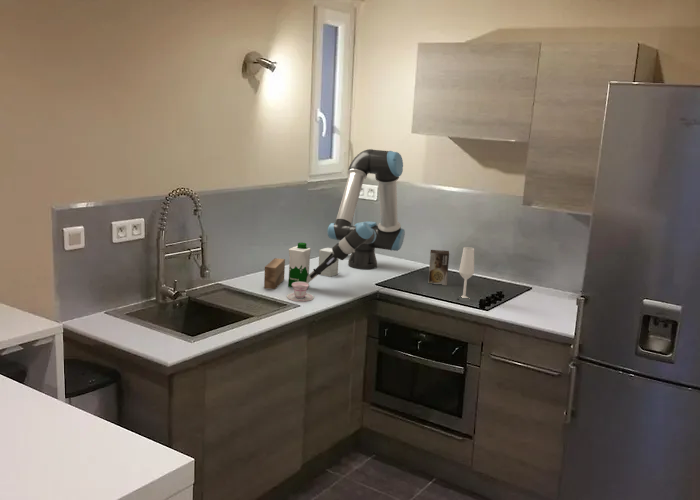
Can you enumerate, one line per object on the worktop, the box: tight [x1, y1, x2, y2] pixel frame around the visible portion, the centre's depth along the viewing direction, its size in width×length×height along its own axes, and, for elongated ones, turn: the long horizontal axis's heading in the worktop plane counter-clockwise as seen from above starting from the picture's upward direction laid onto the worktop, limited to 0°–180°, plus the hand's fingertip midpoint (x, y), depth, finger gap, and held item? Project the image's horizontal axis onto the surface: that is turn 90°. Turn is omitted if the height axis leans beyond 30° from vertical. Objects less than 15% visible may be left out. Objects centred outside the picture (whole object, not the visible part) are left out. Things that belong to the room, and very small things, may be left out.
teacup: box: [286, 282, 315, 302], centre depth 307 cm, size 12×12×6 cm
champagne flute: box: [458, 246, 475, 298], centre depth 316 cm, size 7×7×24 cm
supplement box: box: [318, 247, 340, 277], centre depth 347 cm, size 7×7×13 cm
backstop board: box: [263, 257, 286, 290], centre depth 325 cm, size 5×17×10 cm, turn 171°
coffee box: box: [427, 249, 450, 286], centre depth 341 cm, size 9×6×16 cm
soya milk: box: [287, 242, 312, 289], centre depth 322 cm, size 9×9×20 cm
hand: (306, 280), depth 323 cm, fingers closed
